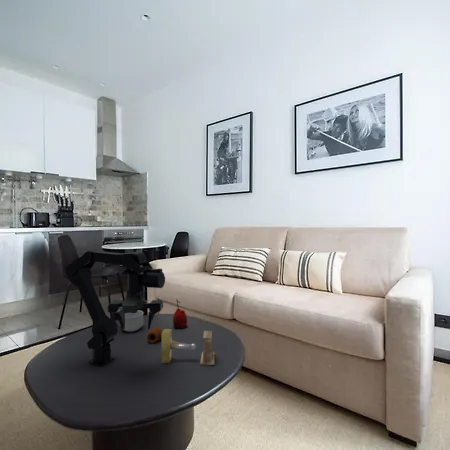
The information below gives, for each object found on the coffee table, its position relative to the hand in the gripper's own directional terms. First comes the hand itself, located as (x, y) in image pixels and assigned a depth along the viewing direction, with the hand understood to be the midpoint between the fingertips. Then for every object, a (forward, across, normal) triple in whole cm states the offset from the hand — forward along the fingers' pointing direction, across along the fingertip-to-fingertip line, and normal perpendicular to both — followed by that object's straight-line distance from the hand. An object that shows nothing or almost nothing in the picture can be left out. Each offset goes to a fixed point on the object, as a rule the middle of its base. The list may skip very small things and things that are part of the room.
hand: (136, 329), depth 101 cm
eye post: (+13, +26, +4) cm, 29 cm away
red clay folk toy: (+13, +10, +38) cm, 41 cm away
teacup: (+13, -14, +36) cm, 41 cm away
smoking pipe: (+14, +8, +20) cm, 25 cm away
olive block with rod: (+13, +15, +3) cm, 20 cm away
